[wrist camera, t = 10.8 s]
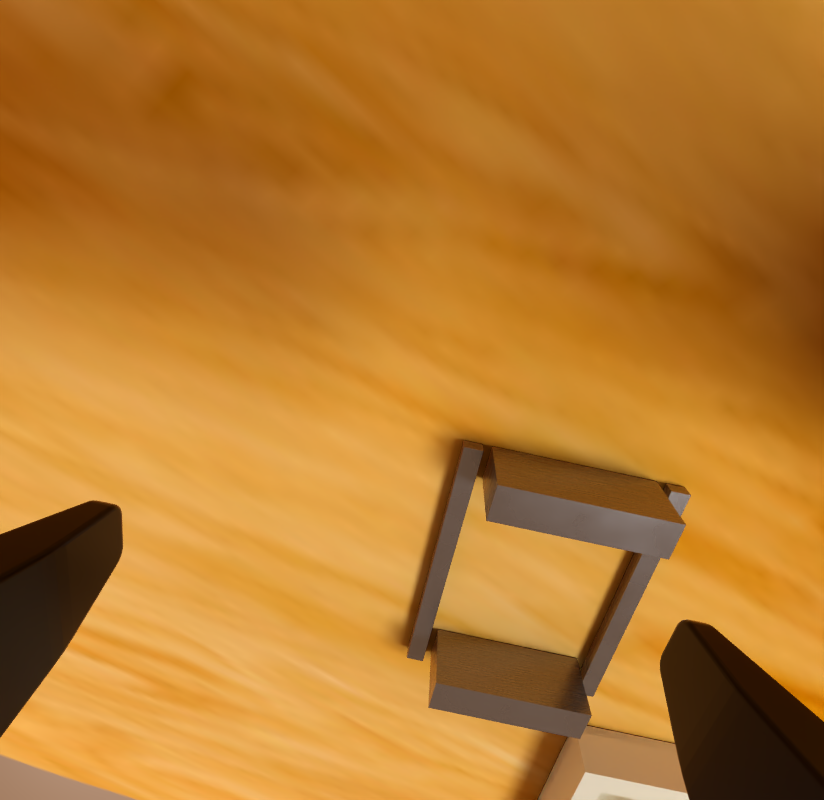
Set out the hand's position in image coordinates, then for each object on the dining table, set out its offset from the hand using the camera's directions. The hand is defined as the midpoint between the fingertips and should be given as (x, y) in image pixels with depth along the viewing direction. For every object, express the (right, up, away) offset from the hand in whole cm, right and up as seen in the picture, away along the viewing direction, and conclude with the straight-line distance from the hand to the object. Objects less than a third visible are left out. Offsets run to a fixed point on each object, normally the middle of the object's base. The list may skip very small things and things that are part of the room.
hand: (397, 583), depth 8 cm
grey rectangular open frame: (+6, -5, +16) cm, 18 cm away
